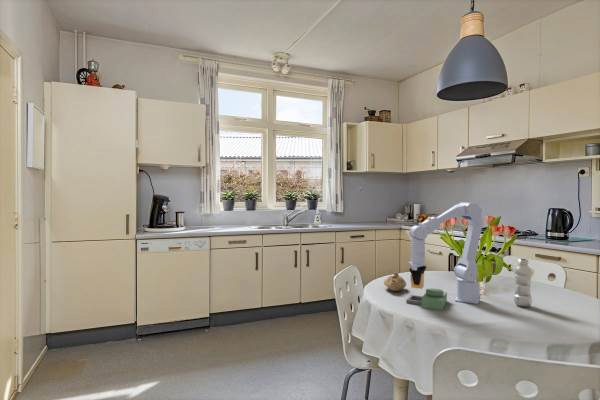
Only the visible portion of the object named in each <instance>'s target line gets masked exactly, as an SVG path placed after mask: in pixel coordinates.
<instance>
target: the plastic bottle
mask: <svg viewBox="0 0 600 400" xmlns="http://www.w3.org/2000/svg"><path fill="white" fill-rule="evenodd" d="M517 264H518V265H516V267H515V268H514V270H513V273H514V279H515V291H514V295H513V302H514V304H515V305H516V306H519V307H525V308H527V307H531V306H532V304H533V298H532V293H531V282H532V274H533V272H532V270H531V268H530V266H529V259H527V258H517Z"/></svg>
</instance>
